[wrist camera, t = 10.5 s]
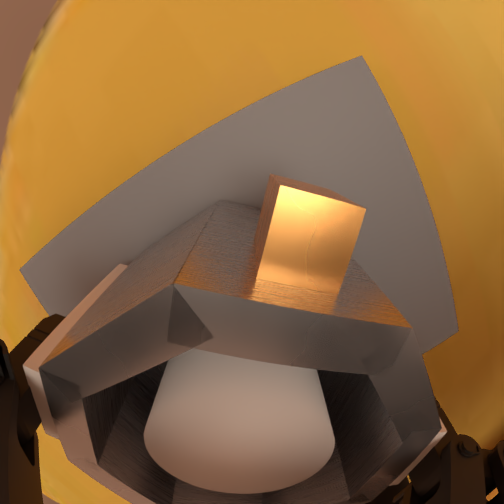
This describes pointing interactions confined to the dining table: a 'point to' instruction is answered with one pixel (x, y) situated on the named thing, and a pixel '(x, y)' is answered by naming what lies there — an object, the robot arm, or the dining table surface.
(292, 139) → the grey plate with knob
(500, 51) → the dining table surface
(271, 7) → the dining table surface
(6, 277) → the dining table surface
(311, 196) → the mug
